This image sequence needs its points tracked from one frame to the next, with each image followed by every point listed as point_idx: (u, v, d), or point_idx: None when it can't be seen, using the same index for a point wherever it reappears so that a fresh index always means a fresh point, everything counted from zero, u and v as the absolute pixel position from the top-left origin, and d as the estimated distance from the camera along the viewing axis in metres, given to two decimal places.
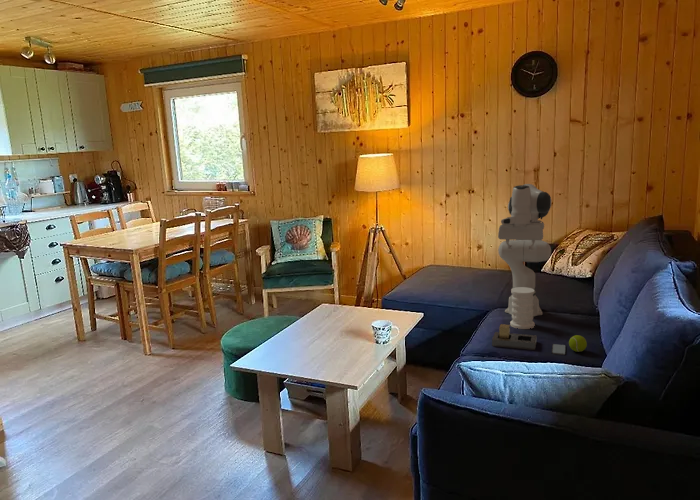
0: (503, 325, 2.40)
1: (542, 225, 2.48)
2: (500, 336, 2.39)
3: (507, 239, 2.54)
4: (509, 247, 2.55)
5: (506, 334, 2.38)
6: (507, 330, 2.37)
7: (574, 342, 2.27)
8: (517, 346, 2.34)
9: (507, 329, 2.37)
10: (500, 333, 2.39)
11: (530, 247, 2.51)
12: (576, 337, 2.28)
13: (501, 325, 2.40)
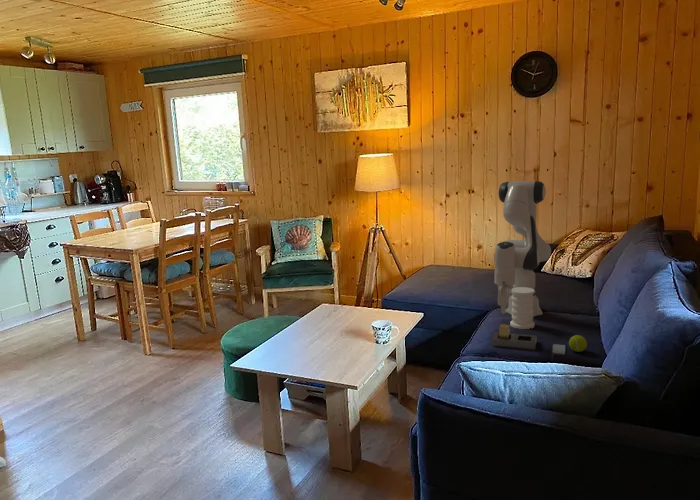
0: (503, 325, 2.40)
1: (501, 290, 2.27)
2: (500, 336, 2.39)
3: None
4: None
5: (506, 334, 2.38)
6: (507, 330, 2.37)
7: (574, 342, 2.27)
8: (517, 346, 2.34)
9: (507, 329, 2.37)
10: (500, 333, 2.39)
11: (501, 310, 2.33)
12: (576, 337, 2.28)
13: (501, 325, 2.40)
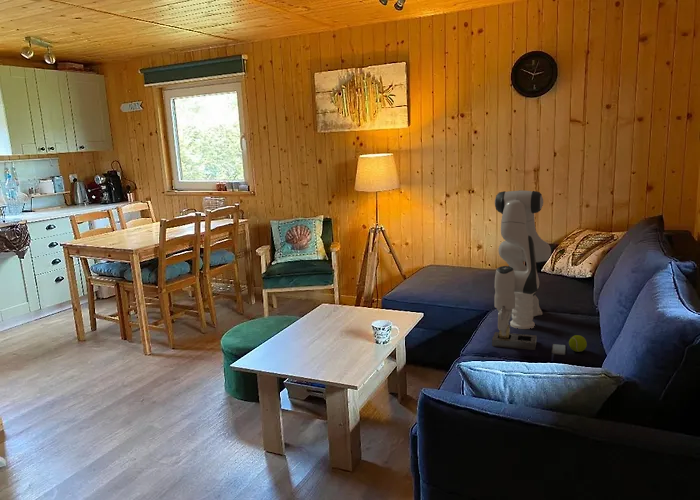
0: None
1: (501, 315, 2.29)
2: (500, 336, 2.39)
3: None
4: None
5: (506, 334, 2.38)
6: (507, 330, 2.37)
7: (574, 342, 2.27)
8: (517, 346, 2.34)
9: (507, 329, 2.37)
10: (500, 333, 2.39)
11: None
12: (576, 337, 2.28)
13: None
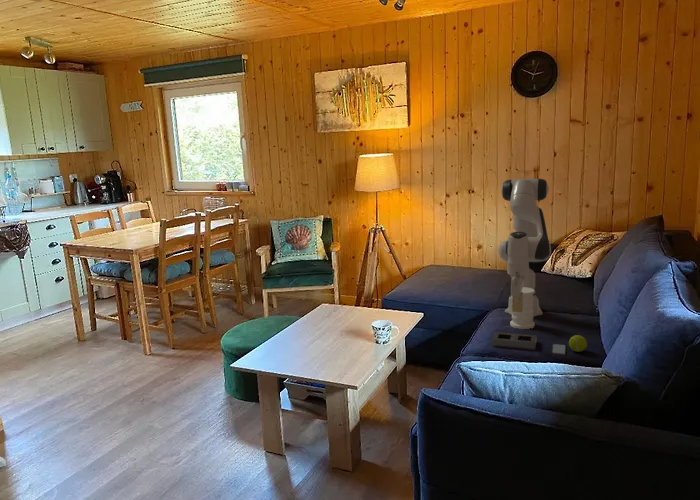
0: None
1: (514, 280, 2.24)
2: (513, 303, 2.34)
3: None
4: None
5: (519, 301, 2.33)
6: (520, 296, 2.32)
7: (574, 342, 2.27)
8: (517, 346, 2.34)
9: (520, 296, 2.32)
10: (513, 300, 2.34)
11: None
12: (576, 337, 2.28)
13: None
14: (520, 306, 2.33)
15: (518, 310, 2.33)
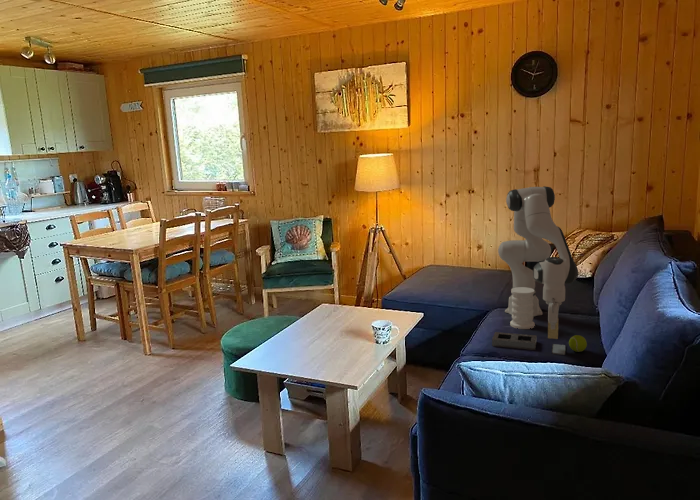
0: None
1: (551, 307, 2.20)
2: (549, 330, 2.30)
3: None
4: None
5: (555, 328, 2.29)
6: (556, 323, 2.28)
7: (574, 342, 2.27)
8: (517, 346, 2.34)
9: None
10: (549, 326, 2.30)
11: None
12: (576, 337, 2.28)
13: None
14: (556, 333, 2.29)
15: (554, 337, 2.30)
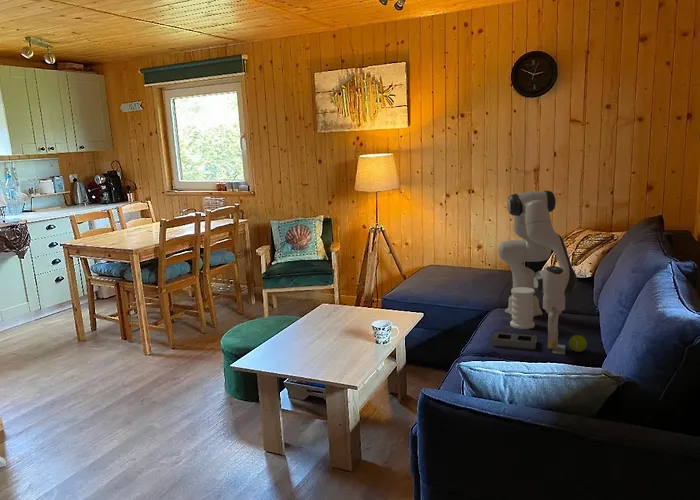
0: None
1: (551, 317, 2.21)
2: (548, 341, 2.31)
3: None
4: None
5: (555, 339, 2.30)
6: (556, 334, 2.30)
7: (574, 342, 2.27)
8: (517, 346, 2.34)
9: (556, 334, 2.30)
10: (548, 338, 2.31)
11: None
12: (576, 337, 2.28)
13: None
14: (556, 344, 2.30)
15: (554, 348, 2.31)
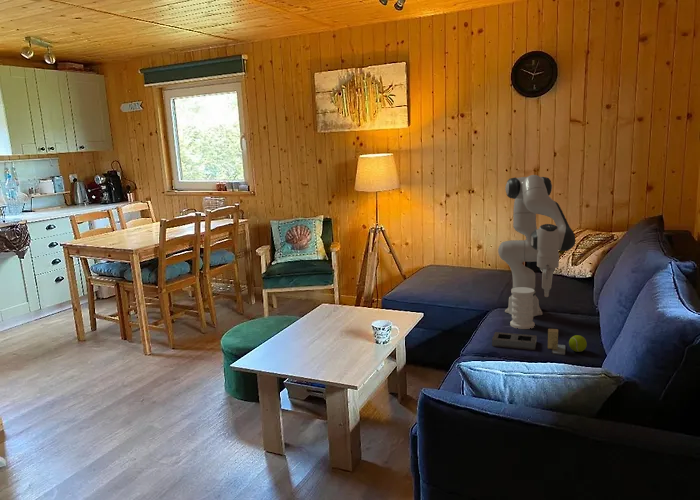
0: (551, 330, 2.32)
1: (545, 273, 2.23)
2: (548, 341, 2.31)
3: None
4: None
5: (555, 339, 2.30)
6: (556, 334, 2.30)
7: (574, 342, 2.27)
8: (517, 346, 2.34)
9: (556, 334, 2.30)
10: (548, 338, 2.31)
11: (544, 293, 2.30)
12: (576, 337, 2.28)
13: (549, 330, 2.33)
14: (556, 344, 2.30)
15: (554, 348, 2.31)
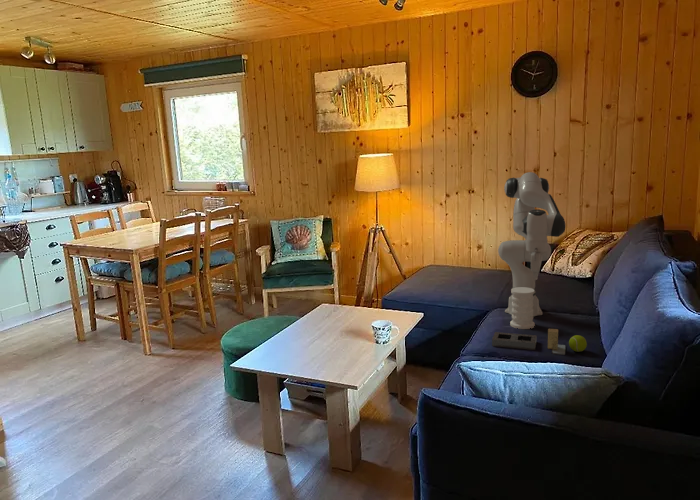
0: (551, 330, 2.32)
1: (534, 256, 2.31)
2: (548, 341, 2.31)
3: None
4: None
5: (555, 339, 2.30)
6: (556, 334, 2.30)
7: (574, 342, 2.27)
8: (517, 346, 2.34)
9: (556, 334, 2.30)
10: (548, 338, 2.31)
11: (533, 276, 2.37)
12: (576, 337, 2.28)
13: (549, 330, 2.33)
14: (556, 344, 2.30)
15: (554, 348, 2.31)
